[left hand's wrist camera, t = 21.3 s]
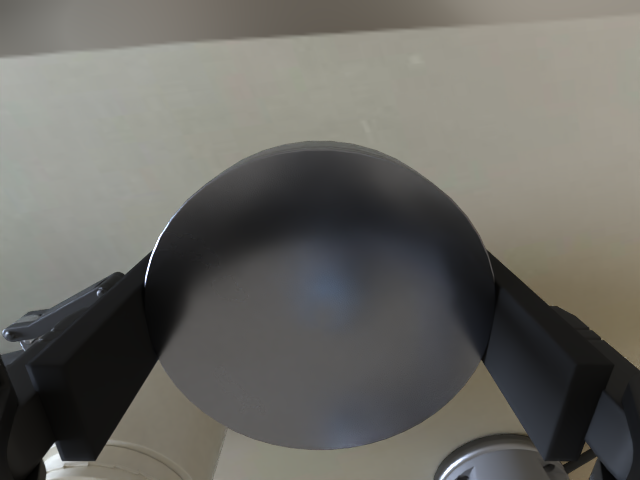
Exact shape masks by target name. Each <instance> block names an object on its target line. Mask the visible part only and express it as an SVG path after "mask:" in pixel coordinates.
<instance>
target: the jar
mask: <svg viewBox="0 0 640 480" xmlns="http://www.w3.org/2000/svg"><path fill="white" fill-rule="evenodd" d="M227 429H228V427H226V426H224V425H222V424H220V423H219V422H217V421H216V420H214V419H213V418H211V417H210V416H208V415H207V414H205V413H204V412H202V411H201V410H200V409H199V408H198V407H196V406H195V405H194V404H193V403H192V402H190V401H189V400H188V399H187V398H186V396H185V395H184V394H183V393H182V392H181V391H180V390H179V389H178V388H177V387H176V386H175V384H174V383H173V381H172V380H171V379H170V377H169V376H168V375H167V373H166V372H165V370H164V368H163V367H162V365H161V363H160V361H159V360H158V361H157V363H156V364H155V366H154V368H153V369H152V371H151V372H150V374H149V376H148V377H147V379H146V380H145V382H144V384H143V385H142V387H141V388H140V390H139V392H138V393H137V395H136V397H135V398H134V400H133V401H132V403H131V405H130V406H129V408H128V409H127V411H126V413H125V414H124V416H123V417H122V419H121V421H120V422H119V424H118V426H117V427H116V429H115V430H114V432H113V434H112V435H111V437H110V438H109V440H108V442H107V443H106V445H105V446H104V448H103V450H102V451H101V453H100V454H99V456H98V458H97V459H96V461H62V460H61V458H60V455H59V453H58V450H57V447H56V445H55V443H54V444H53V446H52V447H51V448H50V449H49V451H48V452H47V453H46V455H45V456H44V457H43V461H44V463H45V466H46V472H47V474H46V480H213V478H214V475H215V471H216V468H217V464H218V461H219V457H220V454H221V450H222V447H223V443H224V440H225V436H226V433H227Z"/></svg>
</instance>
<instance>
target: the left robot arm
mask: <svg viewBox="0 0 640 480" xmlns="http://www.w3.org/2000/svg"><path fill="white" fill-rule="evenodd" d="M153 251H154V249H153V250H152V251H151V252H150V253H149V254H148V255H147V256H146V257H144V258H143V259H142V260H141V261H140V262H139V263H138V264H137V265H136V266H134V267H133V268H132V269H131V270H130V271H129V272H128V273H127V274H126V275H124V276H123V277H122V278H121V279H120V280H119V281H118V282H117V283H116V284H114V285H113V286H112V287H111V288H110V289H109V290H108V291H107V292H105V293H104V294H103V295H102V296H101V297H100V298H99V299H98V300H97V301H95V302H94V303H93V304H92V305H91V306H90V307H83V308H81V309H80V310H78V311H76V312H74V313H72V314H70V315H68V316H66V317H65V318H63V319H62V320H61V321H60V322H59V323H58V324H56V325H55V326H54V327H53V328H52V329H51V331H50V332H47V333H46V334H45V335H43V336H42V337H41V338H40V339H39V342H35V343H34V344H33V345H32V346H31V347H29V348H28V349H27V350H26V351H25V352H24V353H22V354H21V355H20V356H19V357H18V358H17V359H15V360H14V361H13V362H12V363H11V364H9V365H8V366H7V367H6V368H5V365H4V363H3V360H2V358H1V356H0V480H46V474H47V472H46V466H45V463H44V461H43V457H44V456H45V455H46V453H47V452H48V451H49V449H50V448H51V447H52V446H53V444H54V443H55V445H56V447H57V450H58V453H59V455H60V458H61V460H62V461H96V459H97V458H98V456H99V454H100V453H101V451H102V450H103V448H104V446H105V445H106V443H107V442H108V440H109V438H110V437H111V435H112V434H113V432H114V430H115V429H116V427H117V426H118V424H119V422H120V421H121V419H122V417H123V416H124V414H125V413H126V411H127V409H128V408H129V406H130V405H131V403H132V401H133V400H134V398H135V397H136V395H137V393H138V392H139V390H140V388H141V387H142V385H143V384H144V382H145V380H146V379H147V377H148V376H149V374H150V372H151V371H152V369H153V368H154V366H155V364H156V363H157V361H158V360H159V359H158V357H157V356H156V353H155V351H154V348H153V345H152V343H151V340H150V337H149V332H148V327H147V323H146V318H145V309H144V290H145V279H146V274H147V270H148V266H149V262H150V258H151V255H152V253H153ZM486 251H487V253H488V255H489V259H490V263H491V266H492V270H493V274H494V281H495V291H496V306H495V316H494V321H493V326H492V331H491V335H490V339H489V342H488V345H487V348H486V350H485V353H484V355H483V357H482V359H481V360H482V361H483V363H484V365H485V366H486V368H487V370H488V371H489V373H490V374H491V376H492V378H493V379H494V381H495V382H496V384H497V386H498V387H499V389H500V390H501V392H502V394H503V395H504V397H505V399H506V400H507V402H508V403H509V405H510V407H511V408H512V410H513V411H514V413H515V415H516V416H517V418H518V419H519V421H520V423H521V424H522V426H523V427H524V429H525V431H526V432H527V434H528V436H529V437H527V436H521V435H511V434H504V435H493V436H488V437H484V438H480V439H477V440H474V441H472V442H469V443H467V444H465V445H463V446H461V447H459V448H458V449H456V450H455V451H453V452H452V453H451V454H450V455H449V456H448V457H446V458H445V459H444V461H443V462H442V463H441V464H440V466H439V467H438V469H437V471H436V474H435V477H434V480H569V476H568V473H570V472H572V471H573V470H575V469H577V468H578V467H580V466H582V465H583V464H585V463H587V462H588V461H590V460H592V459H593V458H595V457H598V458H597V461H596V463H595V466H594V468H593V471H592V473H591V475H590V478H589V480H640V370H638V369H637V368H636V367H635V366H634V365H633V364H631V363H630V362H629V361H628V360H627V359H625V358H624V357H623V356H622V355H621V354H620V353H618V352H617V351H616V350H615V349H614V348H612V347H611V346H610V345H609V344H608V343H607V342H605V341H604V340H601V337H599V336H598V335H597V334H596V333H595V332H594V331H592V330H589V327H588V326H586V325H585V324H584V323H583V322H582V321H581V320H579V319H578V318H577V317H576V316H574V315H572V314H570V313H569V312H567V311H565V310H563V309H561V308H559V307H557V306H549V305H548V304H547V303H545V302H544V301H543V300H542V299H541V298H540V297H539V296H538V295H536V294H535V293H534V292H533V291H532V290H531V289H530V288H529V287H528V286H526V285H525V284H524V283H523V282H522V281H521V280H520V279H519V278H518V277H516V276H515V275H514V274H513V273H512V272H511V271H510V270H509V269H508V268H506V267H505V266H504V265H503V264H502V263H501V262H500V261H499V260H498V259H496V258H495V257H494V256H493V255H492V254H491V253H490V252H489V251H488V250H486ZM585 441H586V443H587V444H588V445H589V446H590V448H591V449H589V450H588V451H586V452H584V453H583V454H581V452H582V449H583V447H584V444H585ZM580 454H581V455H580ZM560 461H569V462H568V463H566V464H564V465H562V464H561V462H560Z"/></svg>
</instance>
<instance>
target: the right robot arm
mask: <svg viewBox="0 0 640 480" xmlns="http://www.w3.org/2000/svg"><path fill="white" fill-rule="evenodd" d="M123 276H124V274H123V273H121V272H116V273H113V274H111V275H110V276H108V277H106V278H104V279H102V280H101V281H99V282H97V283H95V284H94V285H92V286H90V287H88V288H86V289H85V290H83V291H81V292H79V293H77V294H76V295H74V296H72V297H70V298H68V299H67V300H65V301H63V302H61V303H59V304H58V305H56V306H54V307H52V308H51V309H45V310H38V311H31V312H28V313H27V314H25V315H24V316H23V317H21V318H20V319H18V320H17V321H16V322H14V323H13V324H11V325H10V326H9V327H7V328H6V329H4V330H3V332H2V335H3V337H4V338H5V339H6V340H8V341H11V342H16V341H19V342H20V344H21V346H22V348H23V350H20V351H16V352H11V353H7V354H3V355H0V356H1V358H2V360H3V363H4V365H5V368H6V367H7V366H8V365H9V364H11V363H12V362H13V361H14V360H15V359H17V358H18V357H19V356H20V355H21V354H22V353H24V352H25V351H26V350H27V349H28V348H29V347H31V346H32V345H33V344H34V343H35V342H39V339H40V338H41V337H42V336H43V335H45V334H46V333H47V332H50V331H51V329H52V328H53V327H54V326H55V325H56V324H58V323H59V322H60V321H61V320H62V319H63V318H65V317H66V316H68V315H70V314H72V313H74V312H76V311H78V310H80V309H81V308H83V307H90V306H91V305H92V304H93V303H94V302H95V301H97V300H98V299H99V298H100V297H101V296H102V295H103V294H104V293H105V292H107V291H108V290H109V289H110V288H111V287H112V286H113V285H114V284H116V283H117V282H118V281H119V280H120V279H121V278H122V277H123Z"/></svg>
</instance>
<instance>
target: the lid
mask: <svg viewBox="0 0 640 480" xmlns="http://www.w3.org/2000/svg"><path fill="white" fill-rule="evenodd" d="M495 306H496V291H495V281H494V274H493V270H492V266H491V263H490V259H489V255H488V253H487V251H486V248H485V246H484V244H483V242H482V240H481V237H480V235H479V234H478V232H477V231H476V229H475V227H474V226H473V224H472V223H471V221H470V220H469V218H468V217H467V215H466V214H465V213H464V212H463V211H462V210H461V209H460V208H459V207H458V205H457V204H456V203H455V202H454V201H453V200H452V199H451V198H450V197H449V196H448V195H446V194H445V193H444V192H443V191H442V190H440V189H439V188H438V187H437V186H436V185H434V184H433V183H432V182H430V181H429V180H428V179H426V178H425V177H424V176H422V175H421V174H420V173H418V172H417V171H415V170H414V169H412V168H411V167H409V166H407V165H406V164H404V163H402V162H401V161H399V160H397V159H396V158H393V157H391V156H389V155H386V154H384V153H382V152H379V151H377V150H374V149H370V148H366V147H363V146H359V145H356V144H350V143H342V142H335V141H305V142H298V143H291V144H284V145H281V146H277V147H273V148H270V149H266V150H263V151H260V152H258V153H256V154H254V155H251V156H249V157H247V158H245V159H242V160H241V161H239V162H237V163H236V164H234V165H233V166H231V167H229V168H228V169H226V170H224V171H223V172H222V173H220V174H219V175H218V176H216V177H215V178H213V179H212V180H211V181H209V182H208V183H207V184H205V185H204V186H203V187H202V188H201V189H200V190H198V191H197V192H196V193H195V194H194V195H192V196H191V197H190V198H189V199H188V200H187V201H186V202H185V203H184V204H183V205H182V206H181V208H180V209H179V210H178V211H177V212H176V213H175V214H174V215H173V217H172V218H171V219H170V221H169V223H168V224H167V226H166V227H165V229H164V230H163V232H162V234H161V235H160V237H159V239H158V241H157V244H156V246H155V248H154V251H153V253H152V255H151V258H150V262H149V266H148V270H147V274H146V279H145V290H144V309H145V318H146V323H147V327H148V332H149V337H150V340H151V343H152V345H153V348H154V351H155V353H156V356H157V357H158V359H159V361H160V363H161V365H162V367H163V368H164V370H165V372H166V373H167V375H168V376H169V377H170V379H171V380H172V381H173V383H174V384H175V386H176V387H177V388H178V389H179V390H180V391H181V392H182V393H183V394H184V395H185V396H186V398H187V399H188V400H189V401H190V402H192V403H193V404H194V405H195V406H196V407H198V408H199V409H200V410H201V411H202V412H204V413H205V414H207V415H208V416H210V417H211V418H213V419H214V420H216V421H217V422H219V423H220V424H222V425H224V426H226V427H228V428H230V429H232V430H234V431H235V432H238V433H240V434H243V435H245V436H248V437H250V438H253V439H255V440H259V441H262V442H266V443H269V444H273V445H278V446H283V447H289V448H297V449H308V450H332V449H343V448H351V447H356V446H361V445H367V444H371V443H374V442H377V441H381V440H384V439H387V438H390V437H392V436H395V435H397V434H400V433H402V432H404V431H406V430H408V429H410V428H412V427H414V426H416V425H418V424H419V423H421V422H423V421H424V420H426V419H427V418H429V417H430V416H432V415H433V414H435V413H436V412H437V411H439V410H440V409H441V408H442V407H443V406H444V405H446V404H447V403H448V402H449V401H450V400H451V399H452V398H453V397H454V396H455V395H456V394H457V393H458V392H459V391H460V390H461V389H462V388H463V387H464V385H465V384H466V383H467V381H468V380H469V378H470V377H471V376H472V374H473V373H474V371H475V370H476V368H477V366H478V364H479V362H480V361H481V359H482V357H483V355H484V353H485V350H486V348H487V345H488V342H489V339H490V335H491V331H492V326H493V321H494V316H495Z"/></svg>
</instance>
